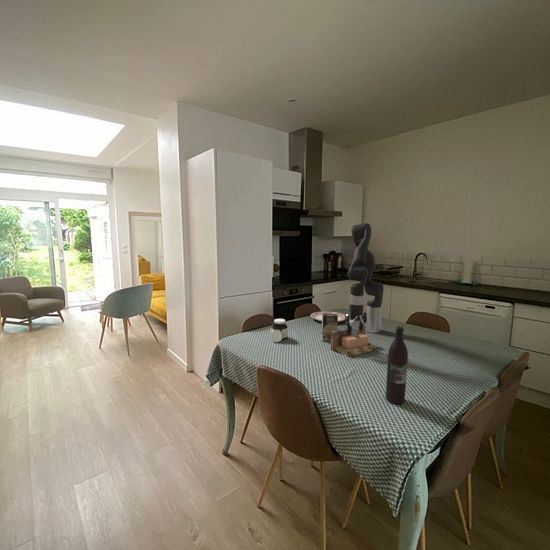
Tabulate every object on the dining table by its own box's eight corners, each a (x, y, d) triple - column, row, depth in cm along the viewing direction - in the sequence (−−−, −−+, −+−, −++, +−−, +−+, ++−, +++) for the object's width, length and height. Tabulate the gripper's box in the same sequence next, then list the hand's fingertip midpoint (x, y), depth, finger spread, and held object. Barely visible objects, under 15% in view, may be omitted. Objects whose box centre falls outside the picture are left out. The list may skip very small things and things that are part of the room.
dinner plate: (309, 314, 240) (309, 310, 239) (343, 314, 239) (343, 310, 238) (312, 325, 213) (312, 320, 212) (350, 325, 212) (350, 321, 211)
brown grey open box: (361, 342, 178) (362, 324, 177) (377, 349, 168) (378, 331, 166) (330, 349, 167) (330, 331, 166) (344, 357, 157) (345, 337, 155)
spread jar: (284, 335, 190) (285, 317, 189) (291, 341, 180) (291, 322, 178) (267, 337, 187) (267, 319, 185) (272, 343, 176) (272, 324, 174)
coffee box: (321, 341, 180) (322, 315, 178) (321, 337, 186) (321, 313, 184) (337, 342, 179) (337, 316, 177) (335, 338, 185) (336, 313, 183)
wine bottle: (385, 402, 115) (390, 329, 111) (385, 393, 122) (389, 323, 118) (405, 406, 113) (410, 331, 109) (404, 397, 119) (409, 325, 115)
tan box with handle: (360, 346, 173) (361, 324, 171) (367, 349, 168) (368, 327, 166) (341, 350, 167) (342, 328, 165) (348, 354, 162) (349, 331, 160)
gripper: (361, 300, 170) (360, 327, 172) (342, 302, 163) (340, 331, 166) (371, 302, 163) (369, 331, 166) (351, 305, 157) (350, 335, 159)
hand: (355, 331), depth 166 cm, fingers open, 8 cm apart
